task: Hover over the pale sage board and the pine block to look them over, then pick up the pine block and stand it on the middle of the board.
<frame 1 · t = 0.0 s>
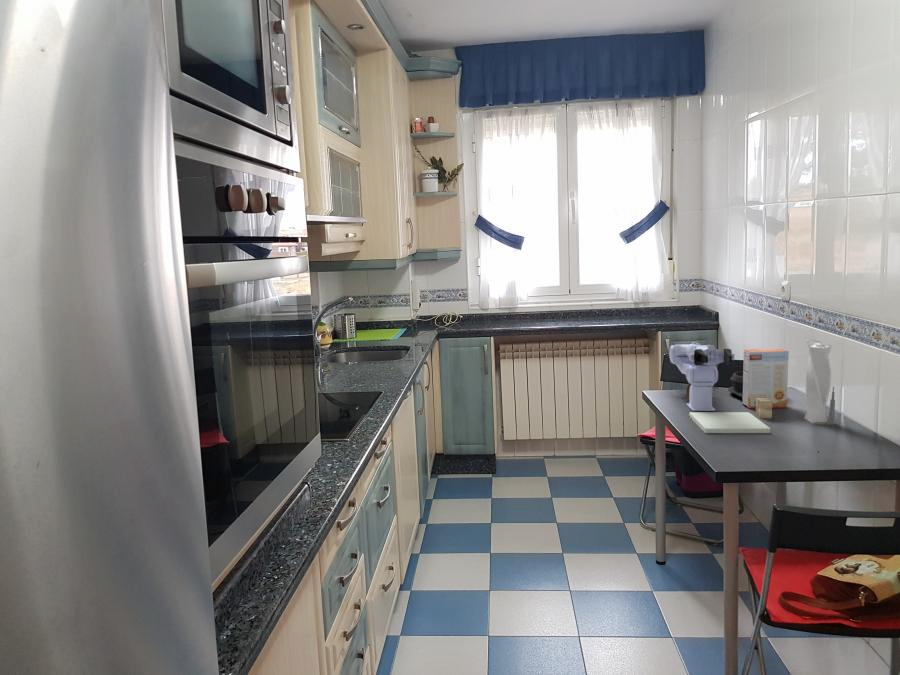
hand: (718, 359, 229), 22 cm above the table, tool horizontal, fingers open, 7 cm apart
casserole: (753, 396, 269), on the table
tin: (696, 400, 265), on the table
skyscraper: (816, 422, 232), on the table
pine block: (763, 416, 239), on the table
cracker box: (763, 406, 252), on the table
board: (727, 424, 230), on the table
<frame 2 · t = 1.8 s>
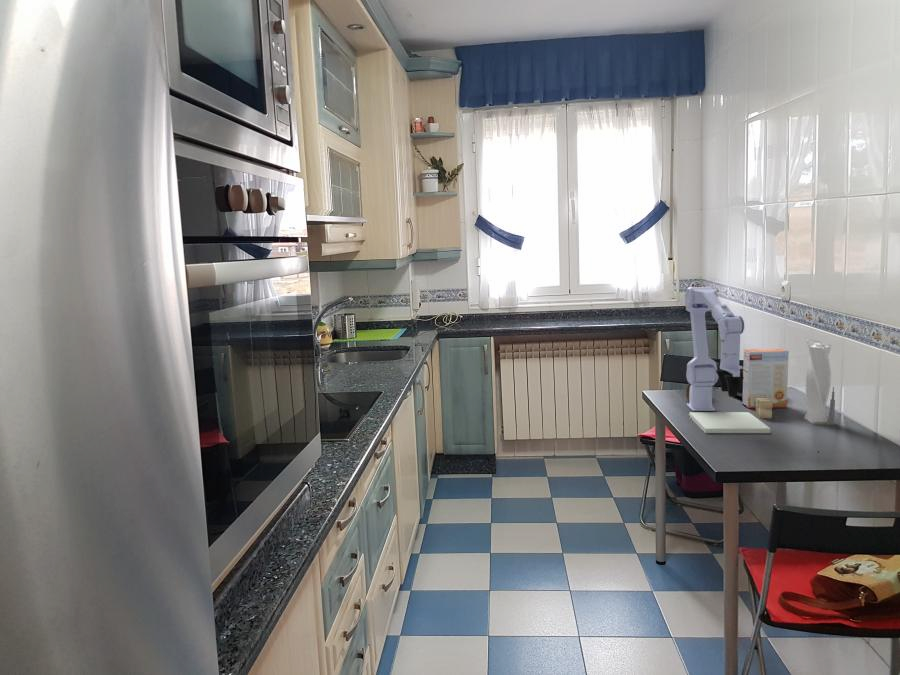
hand: (728, 393, 229), 10 cm above the table, tool pointing down, fingers open, 7 cm apart
nothing on the table moved.
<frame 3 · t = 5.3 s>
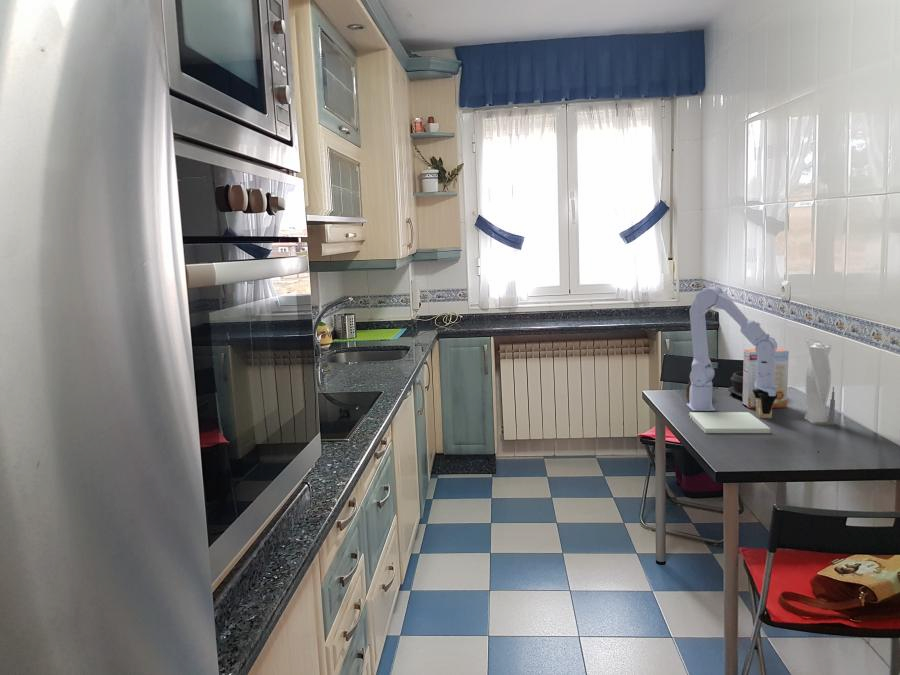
hand: (763, 411, 239), 2 cm above the table, tool pointing down, fingers closed on pine block, 4 cm apart
pine block: (763, 416, 239), on the table, touching gripper
everything else where it was.
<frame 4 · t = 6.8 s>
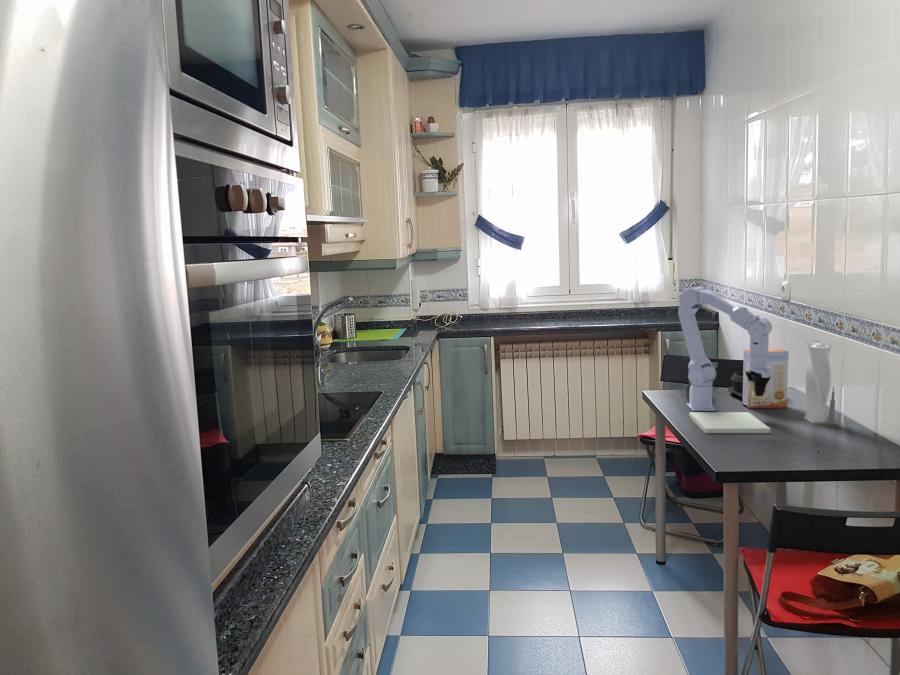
hand: (756, 394, 236), 8 cm above the table, tool pointing down, fingers closed on pine block, 4 cm apart
pine block: (757, 399, 236), point 7 cm above the table, touching gripper
everything else where it was.
when the fingers open (5 cm above the table, at t = 8.7 s): pine block drops 1 cm, resting on board.
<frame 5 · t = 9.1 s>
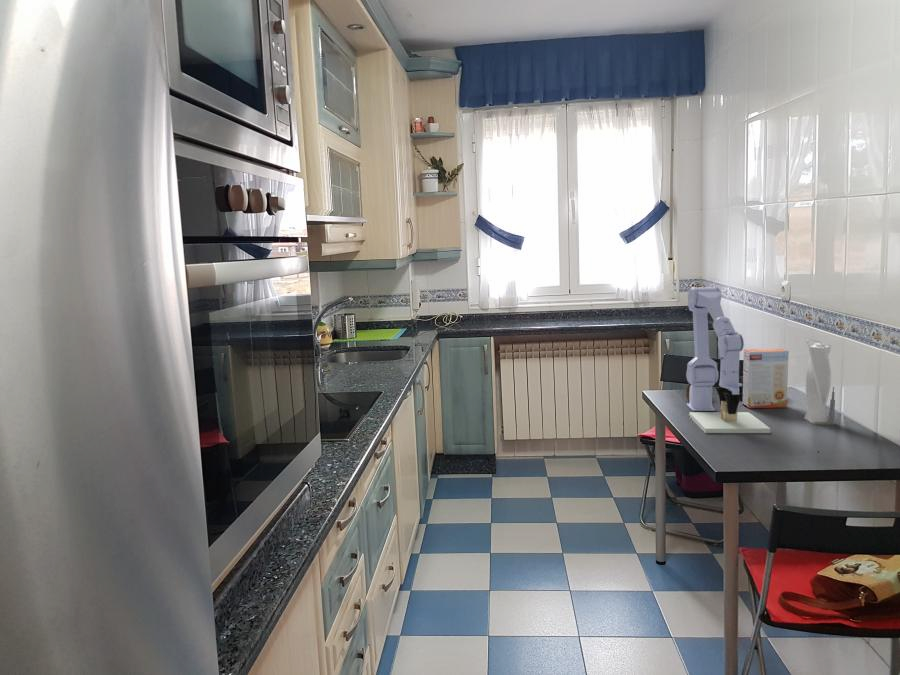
hand: (728, 410, 230), 5 cm above the table, tool pointing down, fingers open, 7 cm apart
pine block: (728, 420, 230), point 1 cm above the table, touching board
everything else where it was.
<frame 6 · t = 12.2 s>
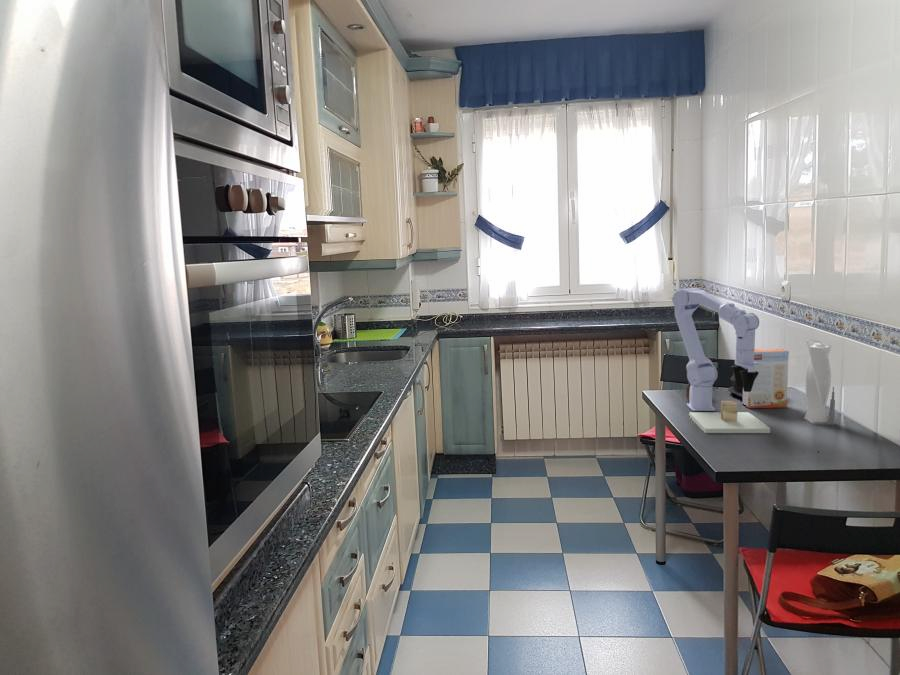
hand: (743, 389, 235), 10 cm above the table, tool pointing down, fingers open, 7 cm apart
nothing on the table moved.
at the end: pine block inside the target area on the board (0.3 cm from its centre), point 1.5 cm above the board's base; pine block tilted 0°; the gripper is holding nothing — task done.
